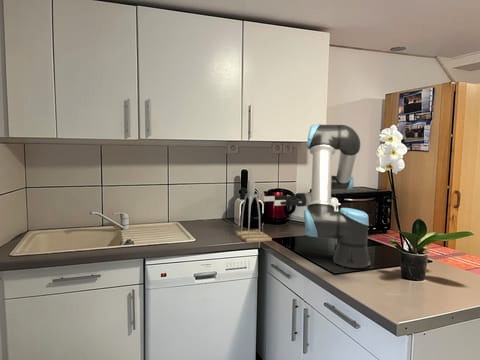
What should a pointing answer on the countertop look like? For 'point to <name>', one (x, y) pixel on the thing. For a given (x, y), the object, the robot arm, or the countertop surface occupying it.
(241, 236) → the trivet
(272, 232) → the countertop surface
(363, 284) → the countertop surface
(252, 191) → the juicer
